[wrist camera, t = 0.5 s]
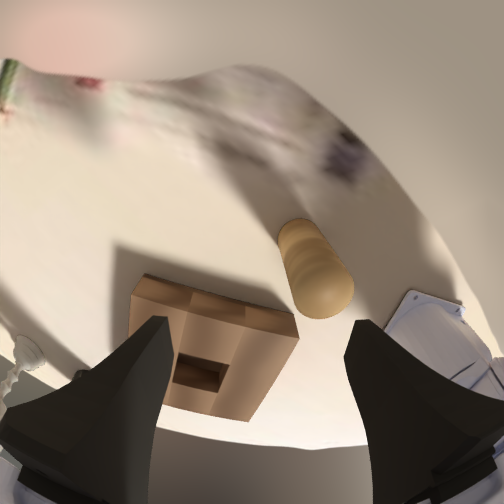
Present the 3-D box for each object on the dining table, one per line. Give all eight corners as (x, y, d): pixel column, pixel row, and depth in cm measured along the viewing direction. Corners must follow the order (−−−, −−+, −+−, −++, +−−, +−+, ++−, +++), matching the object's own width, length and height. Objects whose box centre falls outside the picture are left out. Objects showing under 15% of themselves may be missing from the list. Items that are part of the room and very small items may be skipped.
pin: (326, 226, 19) (364, 274, 12) (310, 263, 20) (337, 323, 13) (286, 212, 18) (308, 257, 12) (271, 252, 19) (283, 311, 13)
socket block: (293, 314, 22) (299, 338, 19) (248, 399, 26) (248, 422, 23) (144, 273, 20) (131, 294, 17) (135, 371, 24) (127, 393, 22)
